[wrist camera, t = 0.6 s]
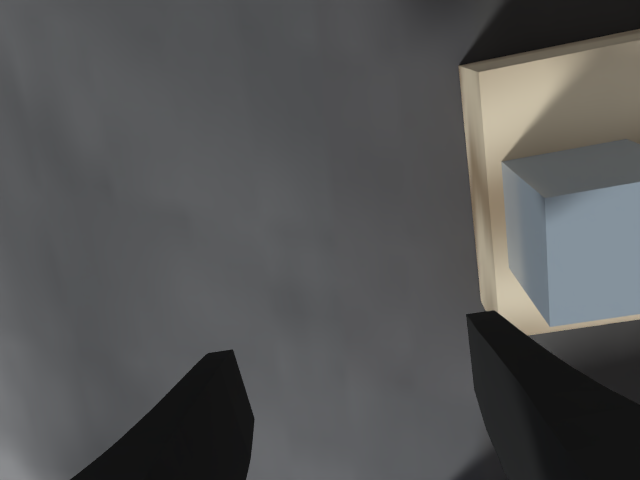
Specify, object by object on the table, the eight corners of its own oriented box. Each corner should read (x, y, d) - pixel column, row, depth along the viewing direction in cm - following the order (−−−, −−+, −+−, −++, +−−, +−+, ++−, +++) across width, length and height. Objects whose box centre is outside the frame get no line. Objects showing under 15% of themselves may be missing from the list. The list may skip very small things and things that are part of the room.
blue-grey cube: (624, 249, 18) (695, 306, 15) (508, 267, 19) (550, 327, 15) (626, 138, 17) (706, 170, 13) (501, 161, 17) (544, 198, 14)
